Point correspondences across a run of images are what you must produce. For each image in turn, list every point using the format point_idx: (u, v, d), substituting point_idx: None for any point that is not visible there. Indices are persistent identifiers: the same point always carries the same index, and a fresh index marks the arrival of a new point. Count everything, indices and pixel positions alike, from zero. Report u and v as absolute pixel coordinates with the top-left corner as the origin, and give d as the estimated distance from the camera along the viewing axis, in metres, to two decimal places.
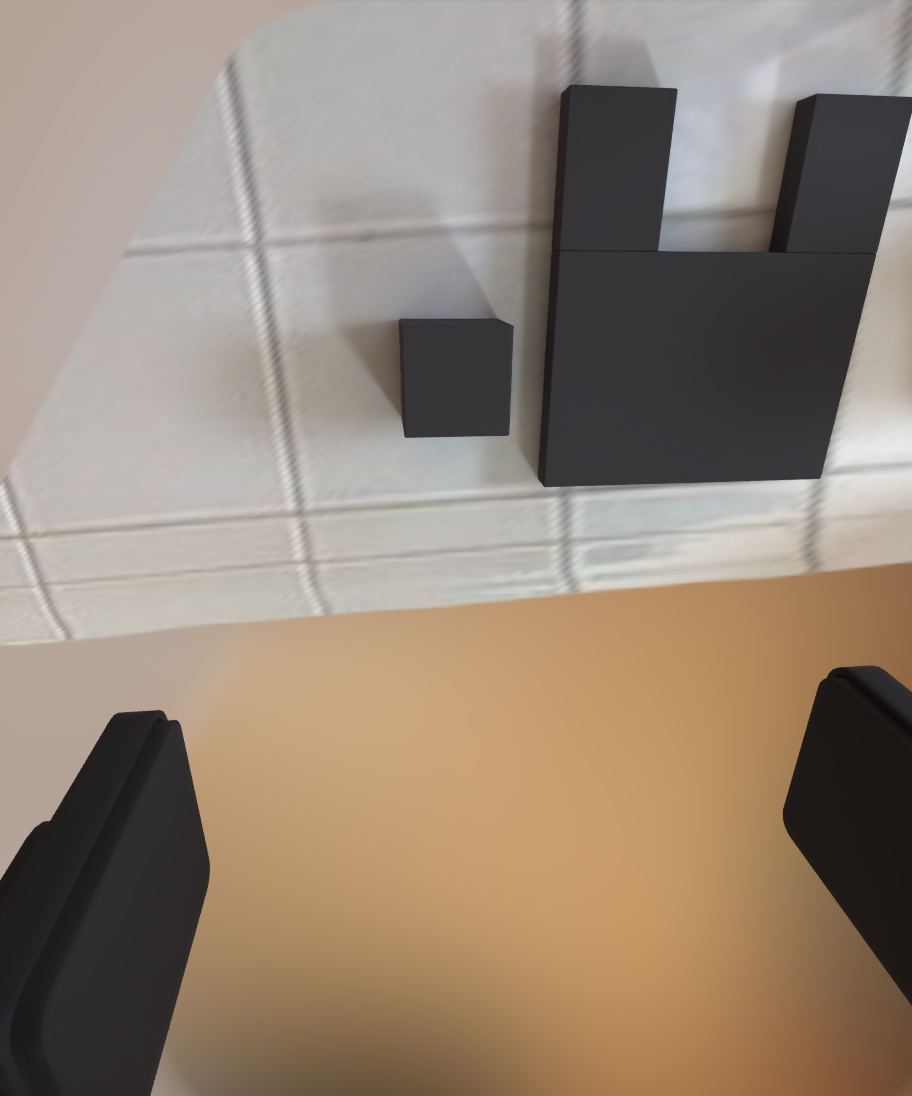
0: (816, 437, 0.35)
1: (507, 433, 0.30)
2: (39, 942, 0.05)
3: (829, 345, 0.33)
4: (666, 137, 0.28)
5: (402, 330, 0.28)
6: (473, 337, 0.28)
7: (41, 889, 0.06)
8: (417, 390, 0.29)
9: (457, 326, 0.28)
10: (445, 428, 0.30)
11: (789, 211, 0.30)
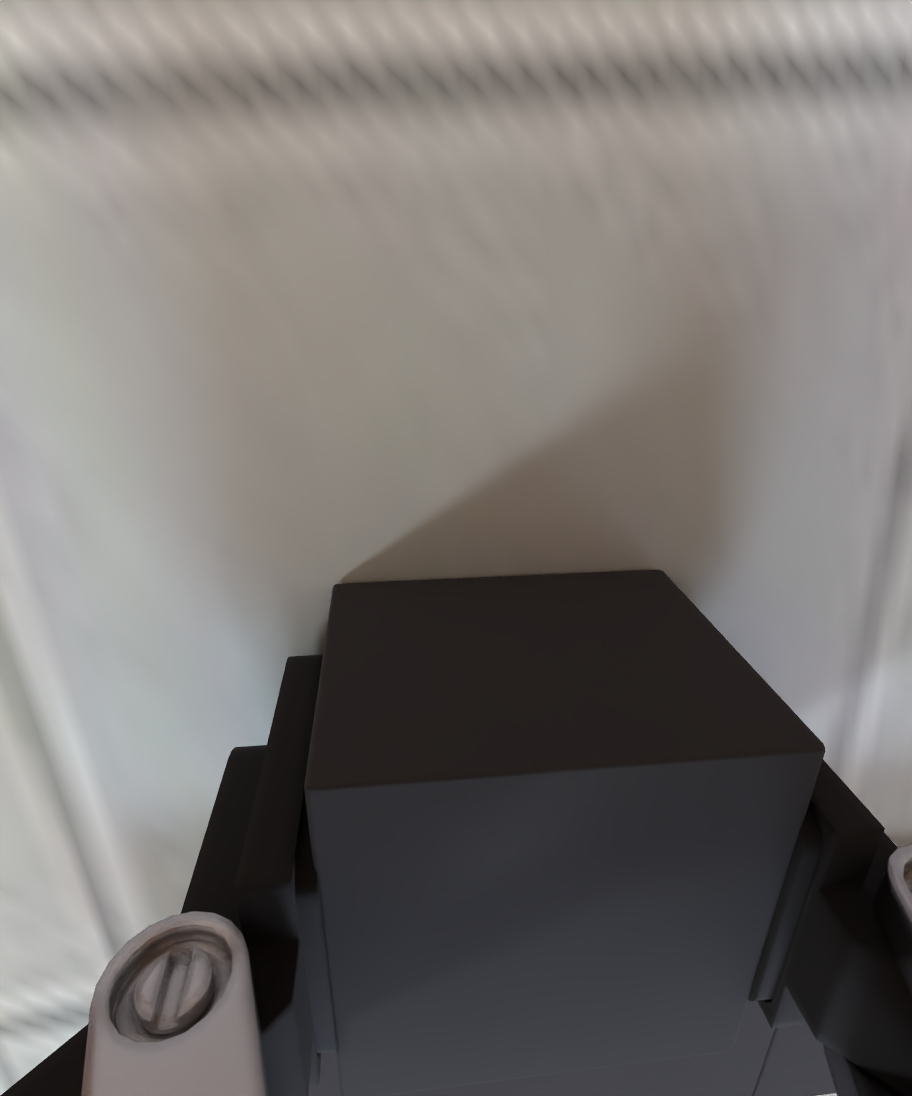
0: None
1: None
2: (299, 820, 0.06)
3: None
4: None
5: (802, 743, 0.06)
6: (721, 965, 0.07)
7: (284, 783, 0.07)
8: (544, 822, 0.06)
9: (771, 916, 0.07)
10: (362, 928, 0.06)
11: None
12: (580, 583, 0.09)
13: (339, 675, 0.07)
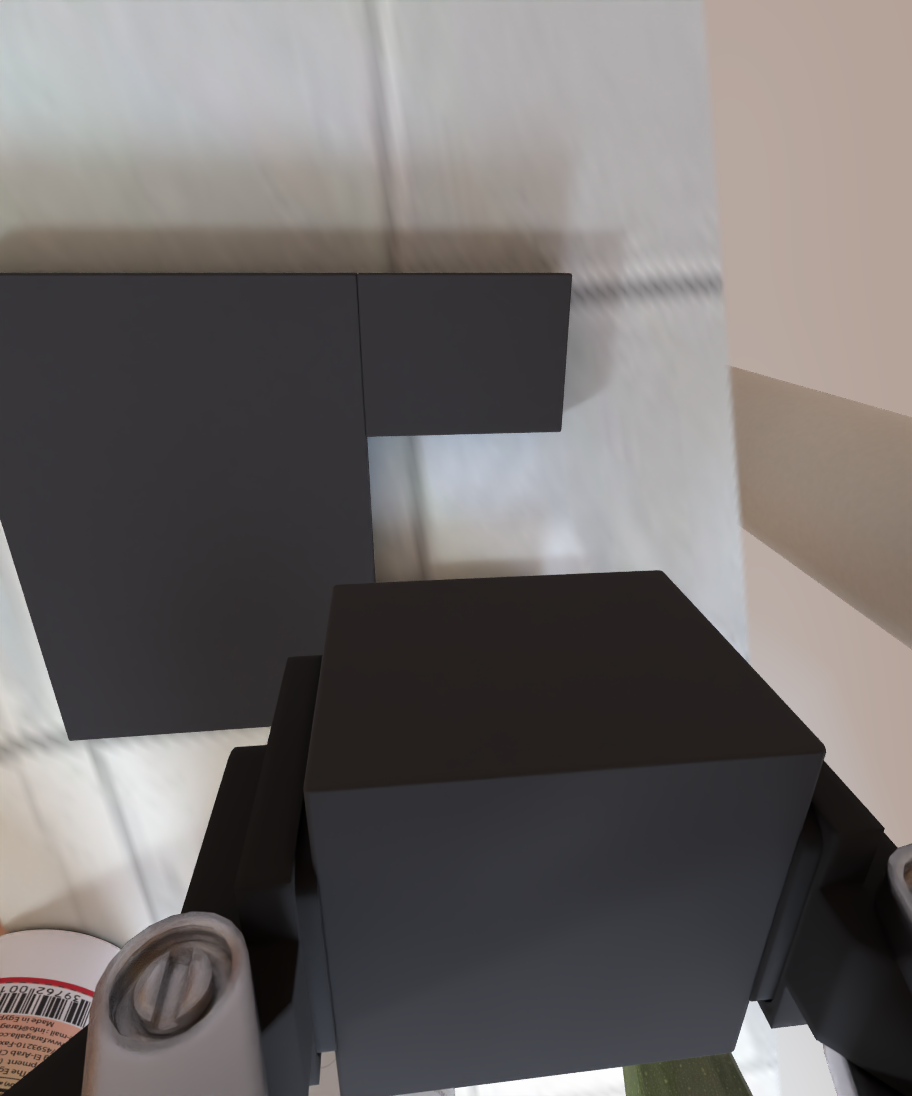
0: (131, 717, 0.23)
1: None
2: (299, 820, 0.06)
3: (264, 698, 0.24)
4: (507, 425, 0.21)
5: (803, 744, 0.06)
6: (722, 967, 0.07)
7: (284, 783, 0.07)
8: (544, 824, 0.06)
9: (771, 918, 0.07)
10: (361, 930, 0.06)
11: None
12: (580, 583, 0.09)
13: (339, 676, 0.07)
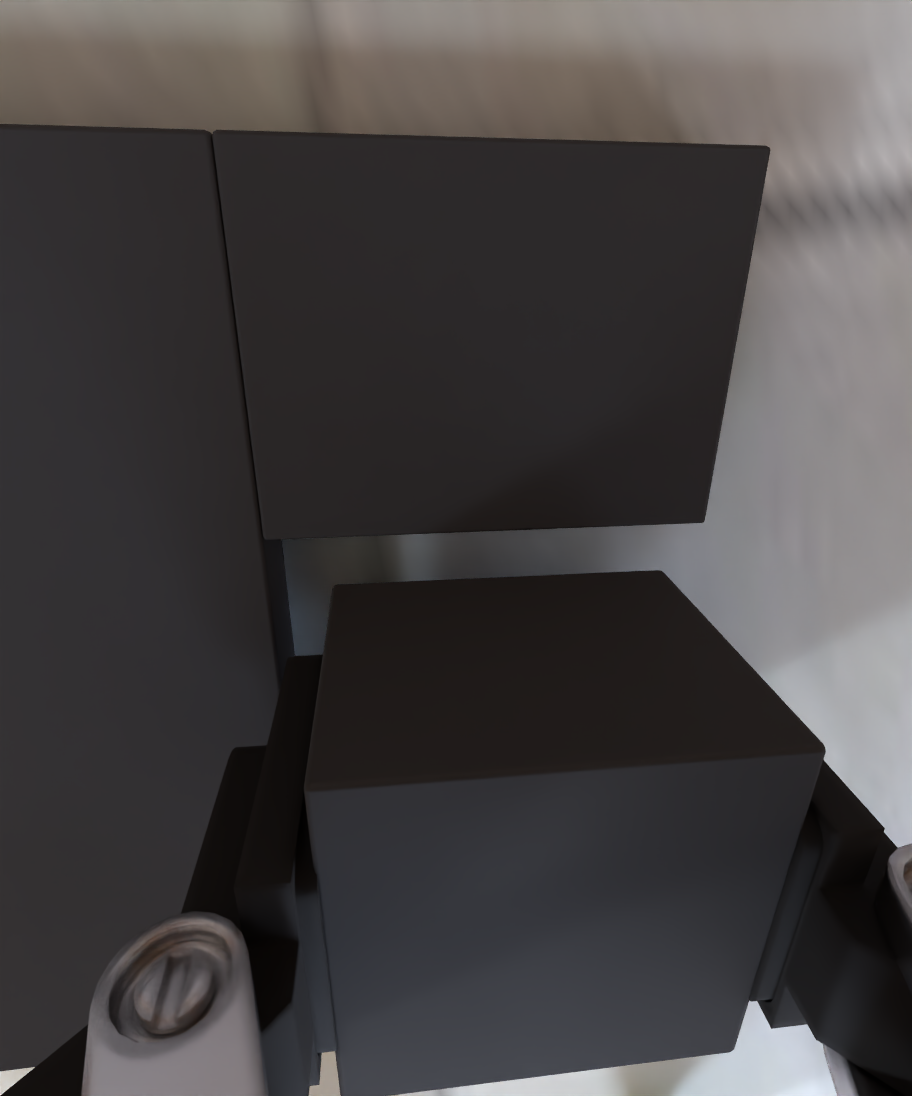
0: None
1: None
2: (299, 819, 0.06)
3: None
4: (588, 511, 0.09)
5: (803, 744, 0.06)
6: (721, 966, 0.07)
7: (284, 783, 0.07)
8: (544, 822, 0.06)
9: (771, 917, 0.07)
10: (362, 929, 0.06)
11: None
12: (580, 583, 0.09)
13: (339, 675, 0.07)
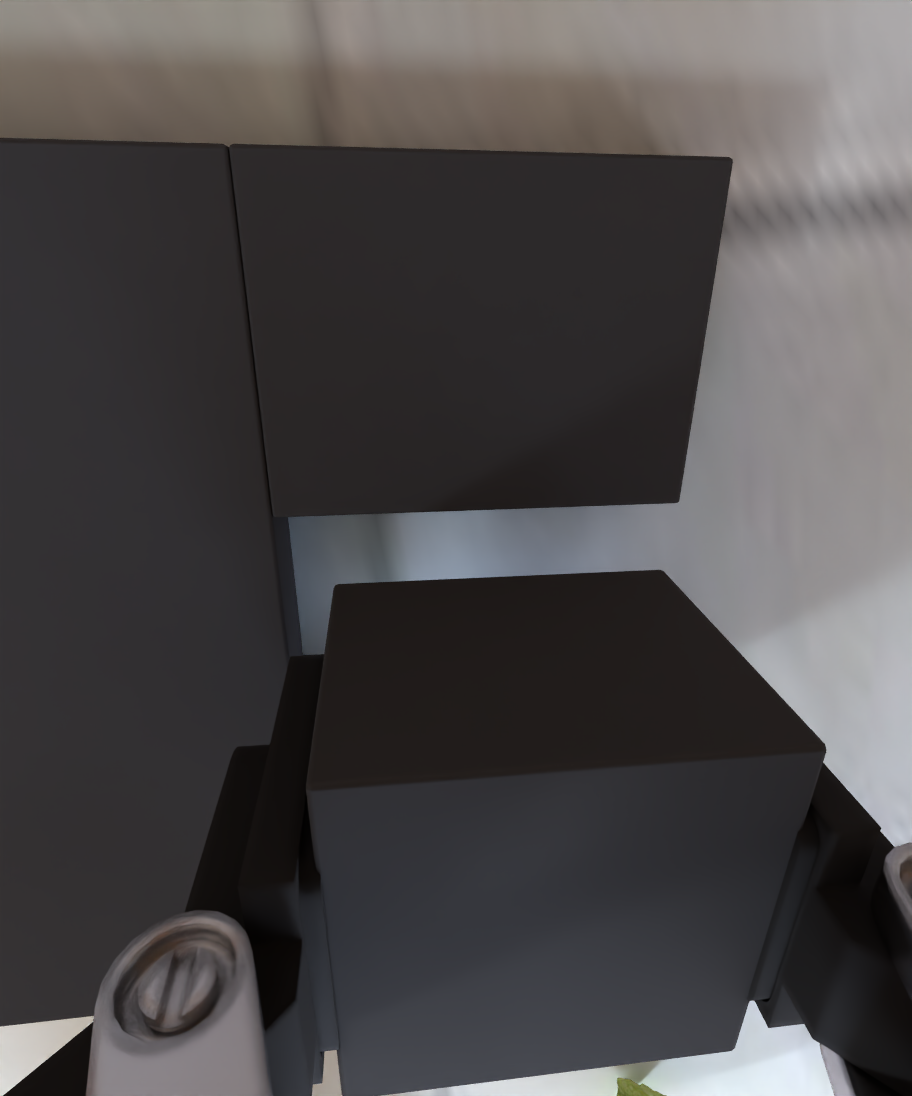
0: None
1: None
2: (303, 818, 0.06)
3: None
4: (571, 492, 0.10)
5: (804, 743, 0.06)
6: (722, 966, 0.07)
7: (287, 782, 0.07)
8: (546, 822, 0.06)
9: None
10: (363, 928, 0.06)
11: None
12: (581, 583, 0.09)
13: (340, 675, 0.07)
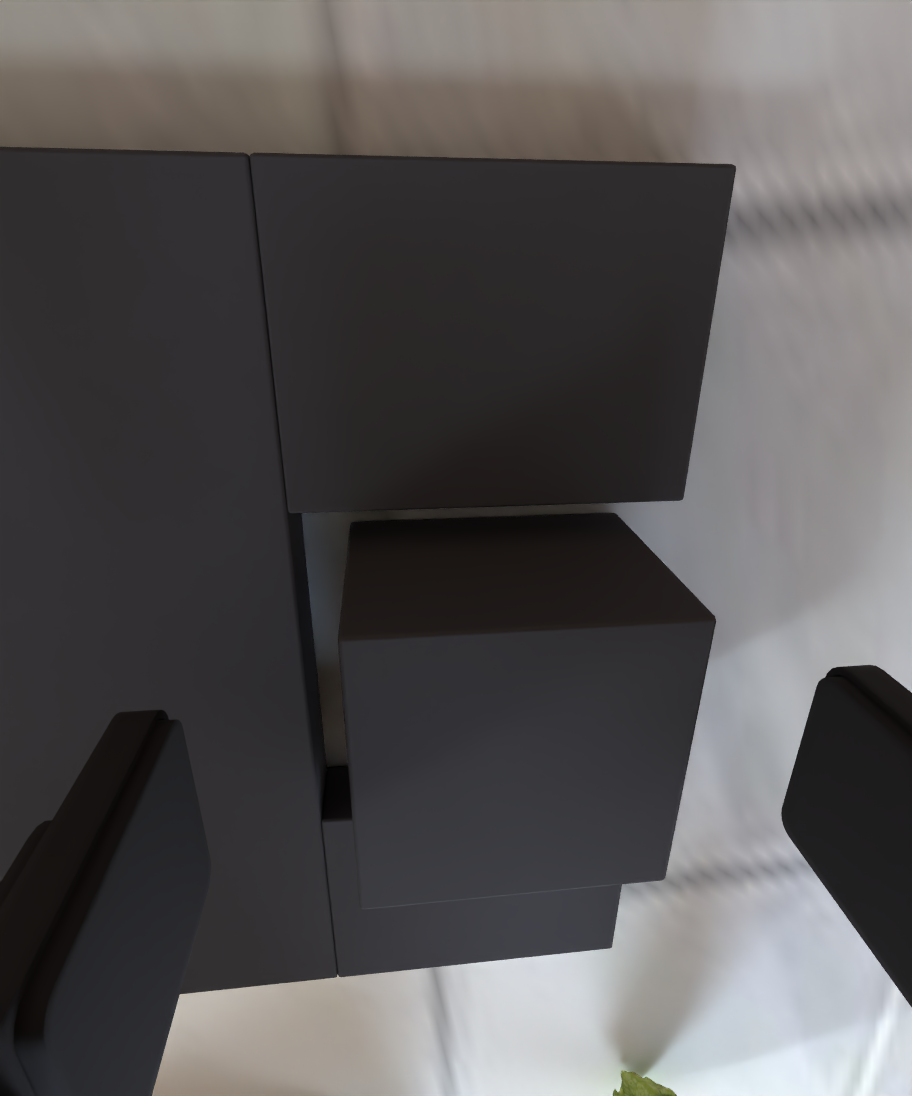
0: None
1: (366, 906, 0.10)
2: (40, 941, 0.05)
3: None
4: (578, 489, 0.10)
5: (700, 616, 0.09)
6: (650, 801, 0.10)
7: (43, 888, 0.06)
8: (511, 672, 0.08)
9: (686, 760, 0.09)
10: (377, 756, 0.09)
11: None
12: (548, 521, 0.12)
13: (359, 577, 0.09)
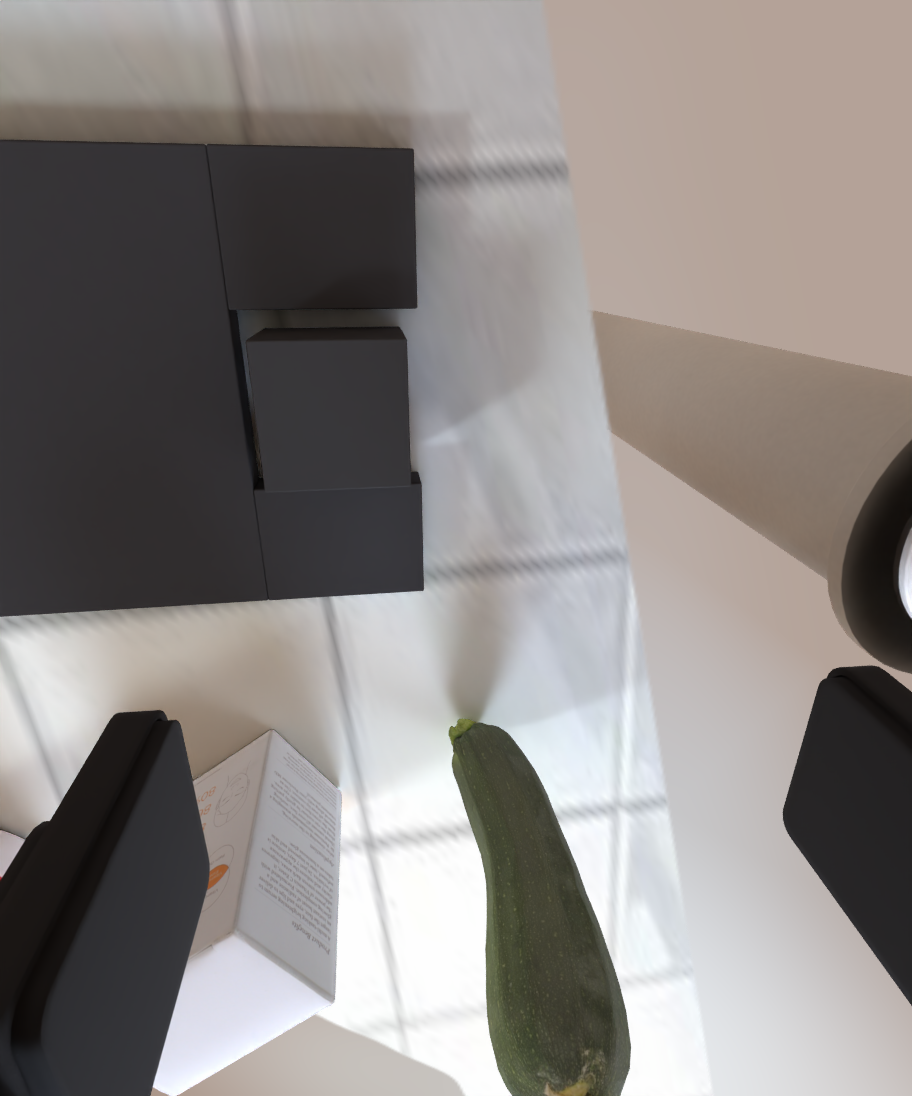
0: (22, 595, 0.25)
1: (268, 490, 0.22)
2: (38, 943, 0.05)
3: (151, 577, 0.25)
4: (364, 300, 0.22)
5: (400, 338, 0.20)
6: (394, 436, 0.21)
7: (41, 889, 0.06)
8: (319, 361, 0.20)
9: (407, 414, 0.21)
10: (266, 402, 0.20)
11: None
12: (362, 327, 0.23)
13: (260, 334, 0.21)
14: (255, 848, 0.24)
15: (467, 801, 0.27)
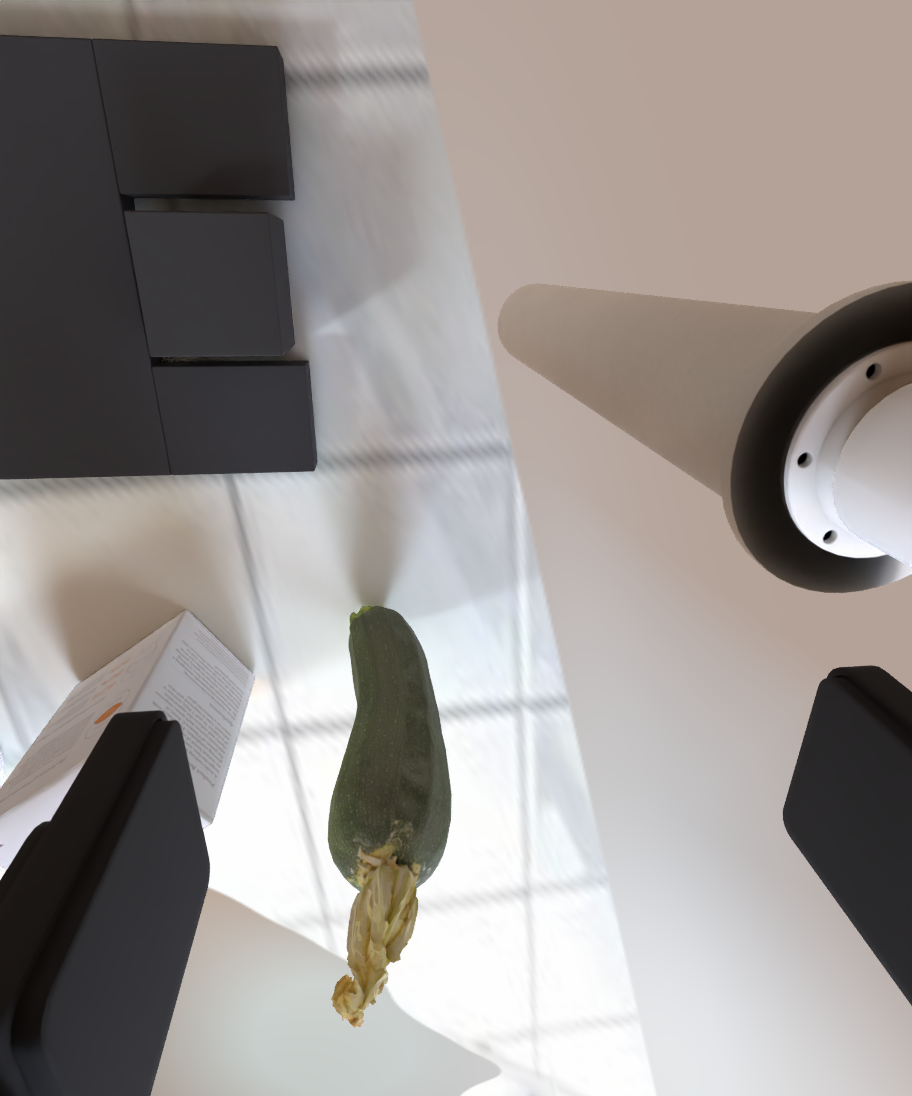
0: None
1: (152, 354, 0.24)
2: (38, 943, 0.05)
3: (62, 447, 0.28)
4: (241, 188, 0.25)
5: (263, 213, 0.23)
6: (263, 306, 0.24)
7: (40, 889, 0.06)
8: (191, 232, 0.23)
9: (274, 286, 0.24)
10: (145, 270, 0.23)
11: (196, 364, 0.27)
12: None
13: None
14: (148, 689, 0.27)
15: (352, 665, 0.30)
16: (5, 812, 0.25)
